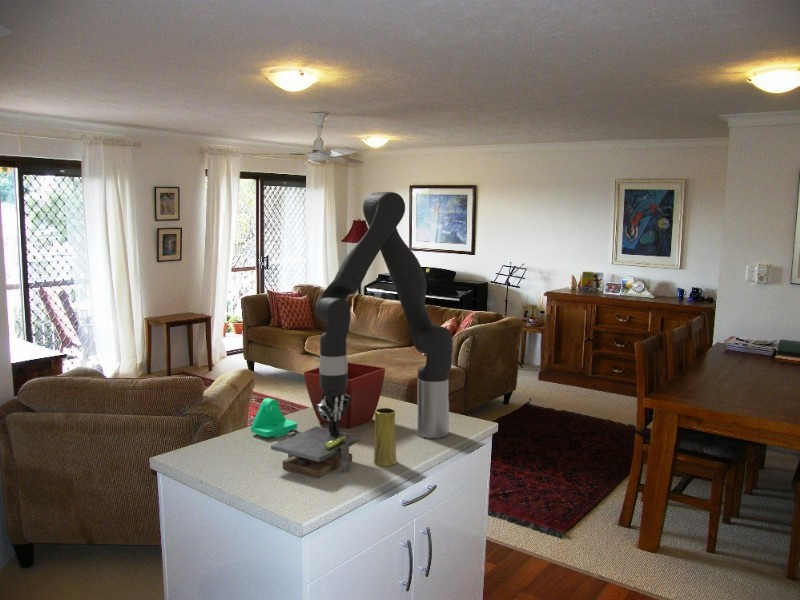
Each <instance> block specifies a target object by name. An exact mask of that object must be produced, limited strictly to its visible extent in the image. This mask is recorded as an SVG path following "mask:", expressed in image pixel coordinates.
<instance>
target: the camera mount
mask: <svg viewBox="0 0 800 600" xmlns="http://www.w3.org/2000/svg"><path fill="white" fill-rule="evenodd" d="M297 428H298V422H296V421H294V420H290V419H287V418H286V416H285V415H284V414H283V412H282V411H281V409H280V403H279V401H278V400H276V399H273V398H269V397H266V398H264V399H263V400H262V402H261V404H260V406H259V407H258V410H257V413H256V415H255V417H254V419H253V421H252V423H251V426H250V433H253V434H255V435H258V436H261V437H263V438H270V437H274V438H279V437H284V436H288V433H290V431H292V430H296V429H297Z"/></svg>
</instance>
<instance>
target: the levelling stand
mask: <svg viewBox="0 0 800 600" xmlns="http://www.w3.org/2000/svg"><path fill="white" fill-rule="evenodd" d="M295 435H297V432H295V431H291V432H289V433H288V434H287V439H288V438H290V437H292V436H295ZM351 462H353V454H352V453H350V447H349V445H348V444H344V445H342V446H341V451H340V452H338V453H336V454H334V455H332V456H330V457H328V458H326V459H324V460H322V461H320V462H318V461H314V460H310V459H306V458H302V457H299V456H295V455H291V454H287V459H284V460H282V469H283V470H287V471H290V472H294V473H298V474H301V475H305V476H308V477H313V478H315V479H320V478H321V477H324V476H325V475H328V474H329V473H331V472H333V471H336V470H338V469H340V473H341V474H343V475H344V474H346V473H348V472H350V463H351Z"/></svg>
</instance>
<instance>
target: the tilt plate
mask: <svg viewBox="0 0 800 600" xmlns="http://www.w3.org/2000/svg"><path fill="white" fill-rule="evenodd" d="M361 441H363V436H362V435H357V434H353V433H349V432H344V431H340V430H339V433H337V434H330V432H329V428H326V427H322V426H314V427H312V428H309V429H306V430H305V431H302V432H299V433H296V435H295V436H292V437H290V438H288V437H287V438H285V439H284V440H280V441H279V442H276V443H274V444H272V445H270V450H272V451H275V452H281V453H283V454H284V453H285V454H287V455H288V454H291V455H295V456H299V457H302V458H306V459H310V460H314V461H318V462H320V461H322V460H324V459H326V458H328V457H330V456H332V455H334V454H336V453H338V452H340V451H341V446H342V445H344V444H348V445H349V448H350V447H352V446H353V445H355V444H357V443H359V442H361Z"/></svg>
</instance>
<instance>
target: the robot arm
mask: <svg viewBox="0 0 800 600" xmlns="http://www.w3.org/2000/svg"><path fill="white" fill-rule="evenodd" d="M362 213H363V217H364V219H365V222H366V223H367V225H368V229H367V231H366V232H365V234H364V235H363V237H361V239H360V240H359V241H358V242H357V244H356V245H354V247H353V248H351V250H350V251H349V253H348V254H347V255H346V256H345V258H344V260H343V261H342V262H341V265H340V267H339V269H338V271H337V272H336V275H335V276H334V279H333V280H332V282H330V283H329V284H328V286H327V287H326V288H325V289H324V291H323V292H322V293H321V295H320V296H319V298H318V300H317V301H316V304H315V316H316V317H317V318H318V319H319V320H320V322H321V321H322V322H323V323H326V329H325V332H323V333H322V334H321V335H320V339H319V355H320V356H319V367H318V368H319V371H320V388H321V389H322V391H323V394H322V401H321V403H320V404H316V409H317V410H318V412H319V413H320V415H321V416H322V418H323V419H325V420H328V421H329V424H328V429H329V432H330V434H337V433H339V431H340V427H339V420H340V419H341V416H344V415H345V412H346V410H347V407H348V405H349V402H350V400H351V396H349V395H347V394H346V391H345V389H346V388H347V387H348V364H347V362H348V359H347V358H348V357H347V337H348V333H349V329H350V325H351V319H352V311H351V308H350V305H349V303H348V302H347V301H346V300H347V298H348V297H349V296H351V295H355V294H356V293H357V292H358V291H359V288H360V287H361V285H362V283H363V281H364V279H365V277H366V275H367V273H368V271H369V269H370V267H371V266H372V264H373V262H374V261H375V259H376V257H377V256H378V253H380V252H381V255H382V257H383V260H384V263H385V265H386V268H387V271H388V273H389V277H390V280H391V282H392V285H393V287H394V289H395V292H396V294H397V297H398V299H399V302H400V305H401V308H402V310H403V313H404V315H405V319H406V323H407V327H408V331H409V334H410V337H411V341H412V344H413V346H414V348H415V350H417V351H418V352H419V353H421V354H423V355H426V358H425V359H426V360H425V365H424V366H421V367H419V368H418V369H417V421H416V422H417V423H416V424H417V430H416V432H417V433H416V434H417V435H418V436H419V437H421V436H422V437H421V438H424V437H426V439H431V438H435V439H441V437H443V438H445V437H444V436H446V437H447V436H448V434H449V430H450V402H449V381H450V380H449V375H450V371H451V369H452V362H453V345H454V344H453V343H454V342H453V335H452V334H451V333H452V332H451V331H450V330H449V329H448V328H447V327H445V326H441V325H437V324H434V323H433V322H432V320H431V317H430V315H429V313H428V311H427V310H428V309H427V306H426V297H427V281H426V277H425V274H424V271H423V269H422V266H421V263H420V261H419V259H418V257H416V255H415V253H414V252H413V251H412V250H411V248H410V247H409V246H408V245H407V243H405V241H404V240H403V238H402V237H401V235H400V232H399V230H398V229H397V227H398V225H399V224H400V223H401V221H402V219H403V218H404V216H405V213H406V203H405V200H404V198H403V197H402V196H401V195H400V194H399V193H397V192H394V191H383V192H381V191H379V192H378V191H377V192H372V193H369V194H368V195H367V196H366V197H365V198H364V200H363V204H362Z"/></svg>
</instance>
